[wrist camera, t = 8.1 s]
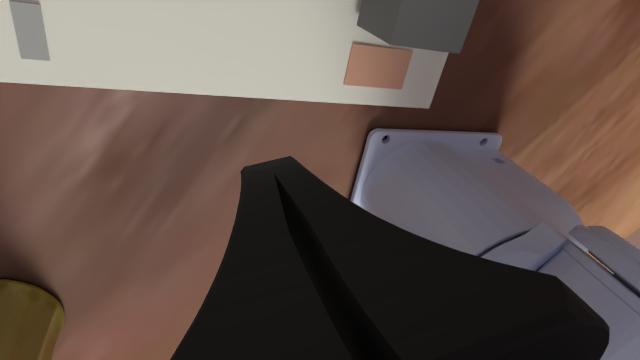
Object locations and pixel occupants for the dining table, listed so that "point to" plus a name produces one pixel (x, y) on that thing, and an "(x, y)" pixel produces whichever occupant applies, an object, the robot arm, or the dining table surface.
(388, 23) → the fader knob
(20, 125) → the dining table surface
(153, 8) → the fader panel
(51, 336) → the vase
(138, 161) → the dining table surface
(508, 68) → the dining table surface
